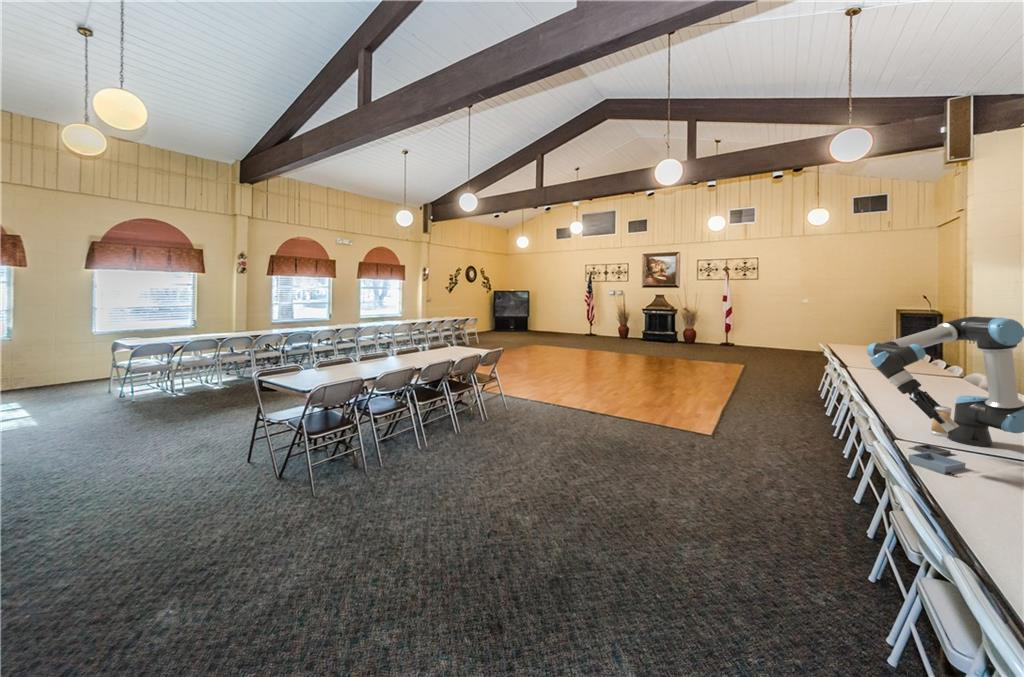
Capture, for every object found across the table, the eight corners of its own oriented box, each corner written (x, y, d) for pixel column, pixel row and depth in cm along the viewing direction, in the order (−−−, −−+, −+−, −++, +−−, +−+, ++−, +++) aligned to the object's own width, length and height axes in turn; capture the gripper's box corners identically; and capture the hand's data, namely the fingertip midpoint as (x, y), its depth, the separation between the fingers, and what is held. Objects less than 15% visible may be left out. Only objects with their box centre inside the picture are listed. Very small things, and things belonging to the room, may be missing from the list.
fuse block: (924, 447, 194) (925, 442, 194) (957, 457, 183) (958, 451, 182) (907, 450, 191) (907, 445, 191) (939, 460, 179) (940, 454, 179)
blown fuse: (935, 432, 174) (939, 405, 173) (950, 436, 170) (954, 408, 168) (927, 433, 173) (931, 406, 172) (942, 437, 168) (946, 409, 167)
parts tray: (927, 459, 180) (928, 451, 180) (964, 471, 169) (965, 463, 168) (908, 462, 177) (909, 454, 177) (944, 474, 165) (945, 466, 165)
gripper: (904, 385, 187) (950, 429, 175) (888, 389, 178) (935, 437, 166) (921, 375, 182) (970, 421, 169) (905, 380, 173) (956, 428, 161)
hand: (953, 429), depth 168 cm, fingers closed on blown fuse, 5 cm apart
